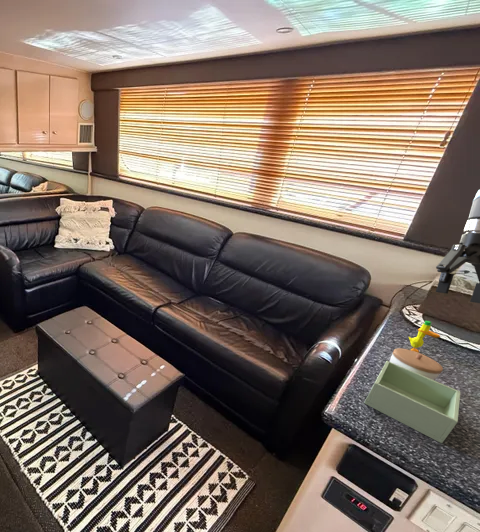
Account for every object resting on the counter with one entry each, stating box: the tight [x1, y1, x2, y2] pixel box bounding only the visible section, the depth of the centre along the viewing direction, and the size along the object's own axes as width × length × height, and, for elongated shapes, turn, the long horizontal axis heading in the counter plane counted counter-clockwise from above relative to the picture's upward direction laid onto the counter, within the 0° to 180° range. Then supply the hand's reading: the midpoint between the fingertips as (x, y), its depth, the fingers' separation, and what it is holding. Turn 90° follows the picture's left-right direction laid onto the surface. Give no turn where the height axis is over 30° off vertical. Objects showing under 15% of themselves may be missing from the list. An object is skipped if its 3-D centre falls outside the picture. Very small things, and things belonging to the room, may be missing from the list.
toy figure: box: [408, 320, 441, 353], centre depth 112 cm, size 7×4×12 cm, turn 39°
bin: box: [363, 360, 461, 444], centre depth 85 cm, size 15×17×7 cm
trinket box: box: [388, 347, 444, 381], centre depth 96 cm, size 11×11×9 cm
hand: (458, 297), depth 104 cm, fingers open, 13 cm apart
